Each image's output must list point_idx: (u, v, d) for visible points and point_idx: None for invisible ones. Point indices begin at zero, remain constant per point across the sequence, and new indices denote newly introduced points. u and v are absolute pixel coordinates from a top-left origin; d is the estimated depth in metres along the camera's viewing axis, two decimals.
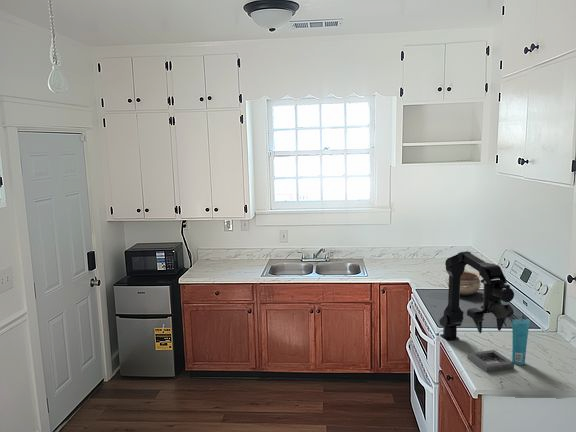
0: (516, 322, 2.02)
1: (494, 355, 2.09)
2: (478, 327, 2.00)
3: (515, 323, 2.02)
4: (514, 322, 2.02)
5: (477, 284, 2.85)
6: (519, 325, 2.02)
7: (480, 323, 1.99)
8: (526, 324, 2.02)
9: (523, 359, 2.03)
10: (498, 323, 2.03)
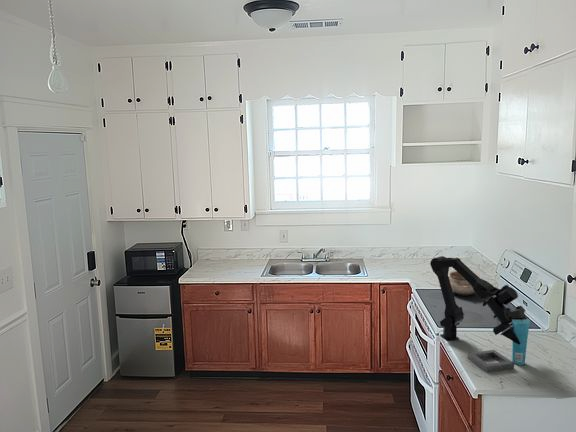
0: (516, 322, 2.02)
1: (494, 355, 2.09)
2: (514, 339, 2.02)
3: (515, 323, 2.02)
4: (514, 322, 2.02)
5: None
6: (519, 325, 2.02)
7: (513, 333, 2.01)
8: (526, 324, 2.02)
9: (523, 359, 2.03)
10: None
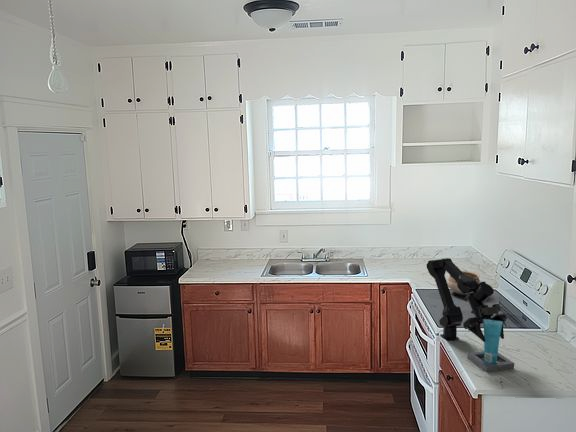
0: (487, 322, 2.02)
1: None
2: (480, 336, 2.01)
3: (486, 323, 2.02)
4: (485, 322, 2.03)
5: None
6: (490, 325, 2.02)
7: (479, 330, 2.01)
8: (498, 326, 2.00)
9: (493, 360, 2.02)
10: None
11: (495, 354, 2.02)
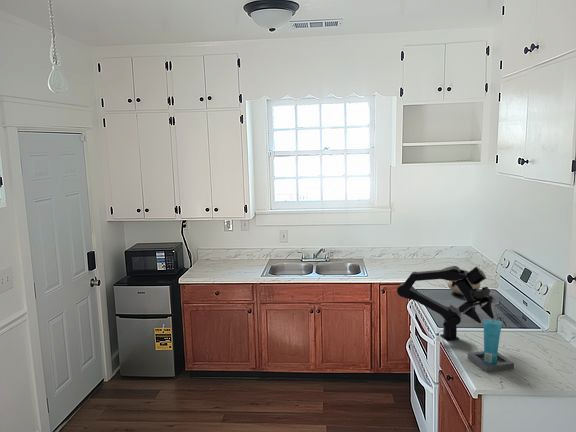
0: (487, 322, 2.03)
1: None
2: (476, 318, 2.14)
3: (486, 323, 2.03)
4: (485, 321, 2.03)
5: (477, 284, 2.85)
6: (490, 325, 2.02)
7: (475, 312, 2.14)
8: (498, 325, 2.01)
9: (493, 360, 2.02)
10: (488, 313, 2.20)
11: (495, 354, 2.02)
